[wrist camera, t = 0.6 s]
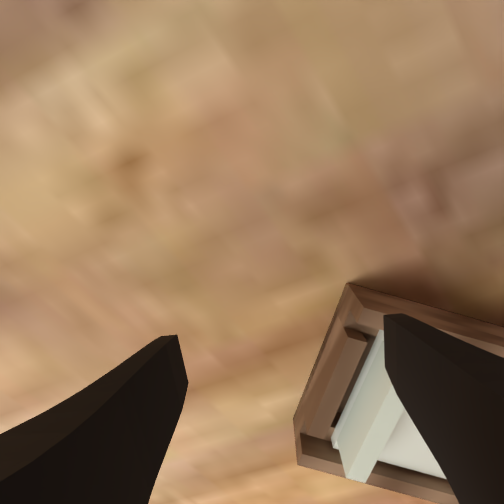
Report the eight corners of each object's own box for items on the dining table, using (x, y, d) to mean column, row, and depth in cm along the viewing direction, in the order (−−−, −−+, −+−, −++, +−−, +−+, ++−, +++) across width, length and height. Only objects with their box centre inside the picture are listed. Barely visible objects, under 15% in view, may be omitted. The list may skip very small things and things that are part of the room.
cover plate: (550, 371, 18) (609, 413, 15) (478, 478, 21) (516, 533, 18) (382, 323, 18) (405, 356, 15) (330, 437, 21) (341, 485, 17)
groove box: (541, 337, 20) (602, 374, 16) (461, 464, 23) (496, 519, 20) (346, 282, 20) (363, 307, 16) (293, 418, 23) (297, 464, 19)
